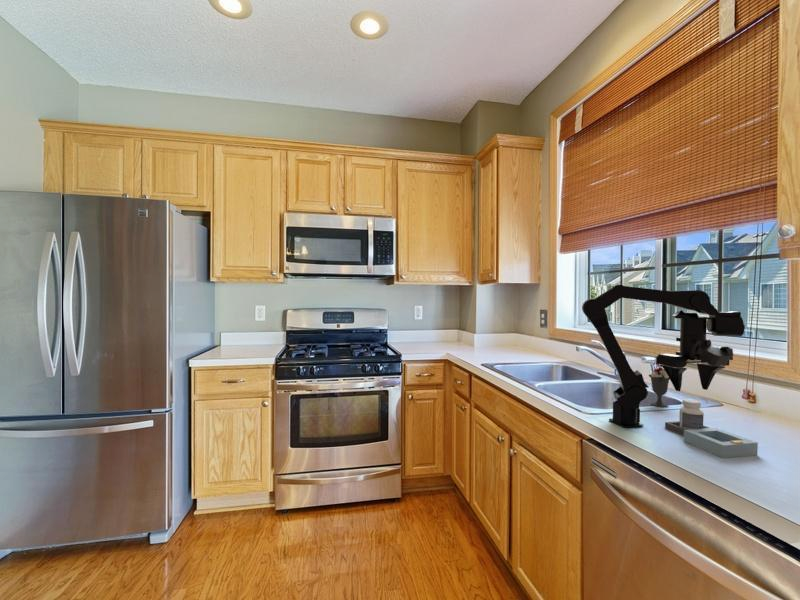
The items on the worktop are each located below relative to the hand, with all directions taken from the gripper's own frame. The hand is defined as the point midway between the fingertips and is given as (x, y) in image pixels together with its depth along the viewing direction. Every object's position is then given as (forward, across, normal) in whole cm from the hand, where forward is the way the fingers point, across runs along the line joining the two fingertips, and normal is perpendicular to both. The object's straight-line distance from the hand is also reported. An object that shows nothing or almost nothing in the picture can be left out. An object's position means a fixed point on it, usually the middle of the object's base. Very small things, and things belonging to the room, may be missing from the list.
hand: (691, 390), depth 103 cm
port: (+12, -3, -10) cm, 16 cm away
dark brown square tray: (+12, 0, 0) cm, 12 cm away
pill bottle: (+12, 0, 0) cm, 12 cm away
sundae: (+12, +13, +22) cm, 29 cm away
